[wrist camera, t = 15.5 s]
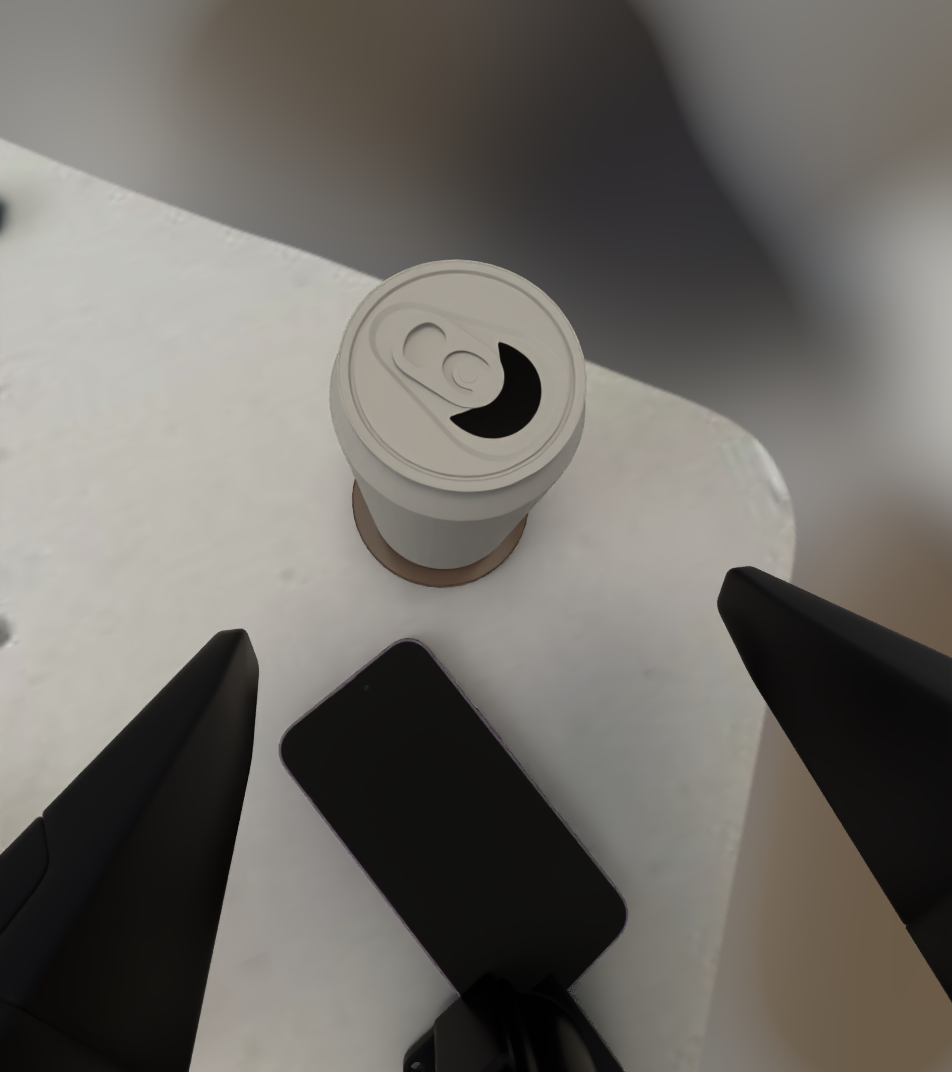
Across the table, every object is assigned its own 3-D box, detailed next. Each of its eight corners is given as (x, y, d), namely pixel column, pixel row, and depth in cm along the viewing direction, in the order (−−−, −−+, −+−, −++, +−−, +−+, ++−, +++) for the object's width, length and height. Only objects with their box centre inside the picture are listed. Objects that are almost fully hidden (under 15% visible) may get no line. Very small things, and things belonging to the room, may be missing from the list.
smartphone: (504, 1059, 20) (264, 746, 20) (499, 1035, 21) (272, 739, 21) (640, 916, 21) (412, 627, 21) (628, 901, 22) (412, 626, 23)
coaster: (560, 520, 24) (563, 518, 24) (421, 623, 23) (421, 623, 22) (459, 389, 25) (460, 383, 24) (318, 480, 23) (315, 476, 23)
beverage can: (468, 598, 22) (519, 564, 11) (342, 523, 22) (257, 406, 11) (537, 480, 24) (652, 333, 12) (419, 408, 24) (418, 193, 12)
